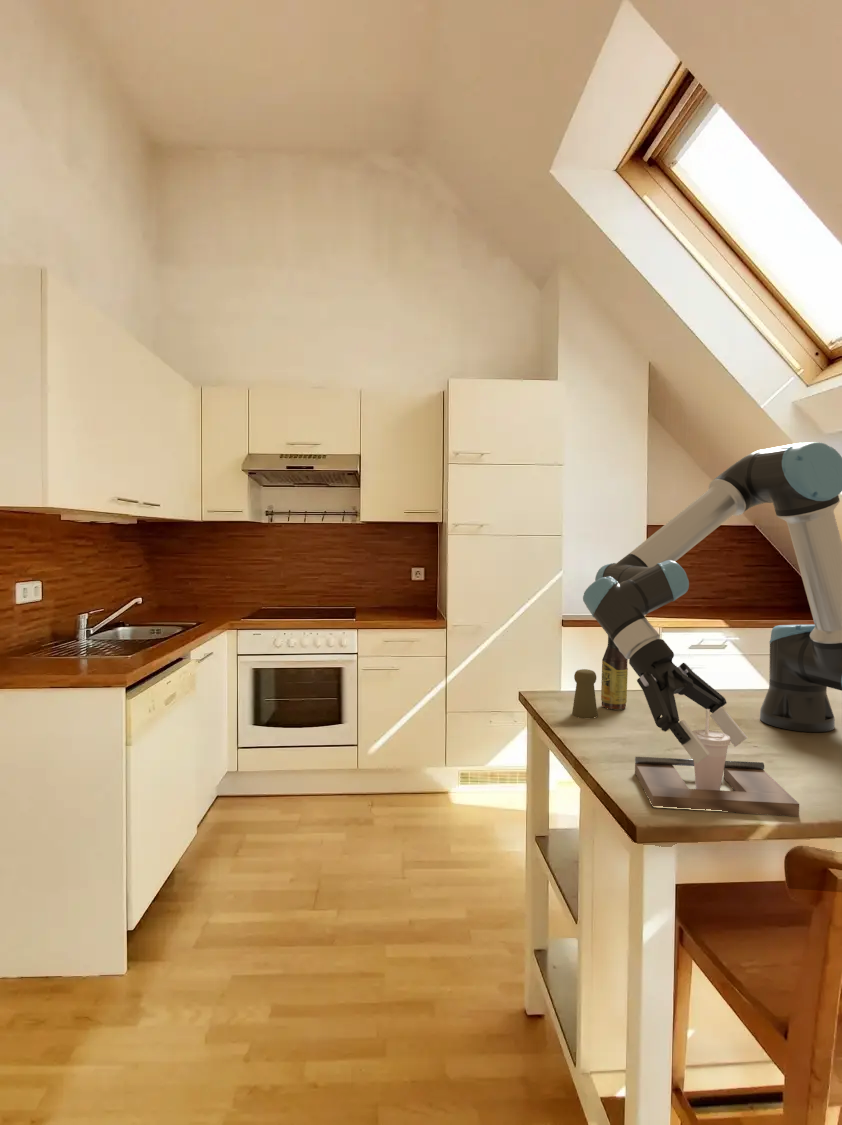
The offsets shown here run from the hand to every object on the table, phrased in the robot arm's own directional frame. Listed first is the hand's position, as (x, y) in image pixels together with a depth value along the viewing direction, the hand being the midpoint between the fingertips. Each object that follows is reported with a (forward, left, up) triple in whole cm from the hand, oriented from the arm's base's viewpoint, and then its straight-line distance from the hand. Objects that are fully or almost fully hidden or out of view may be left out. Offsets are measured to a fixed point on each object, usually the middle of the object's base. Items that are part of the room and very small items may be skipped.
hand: (723, 750), depth 114 cm
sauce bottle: (+10, -56, -8) cm, 57 cm away
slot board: (+2, -1, -8) cm, 8 cm away
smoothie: (+2, -2, -8) cm, 8 cm away
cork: (+18, -48, -8) cm, 51 cm away
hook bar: (+2, -8, -6) cm, 10 cm away
